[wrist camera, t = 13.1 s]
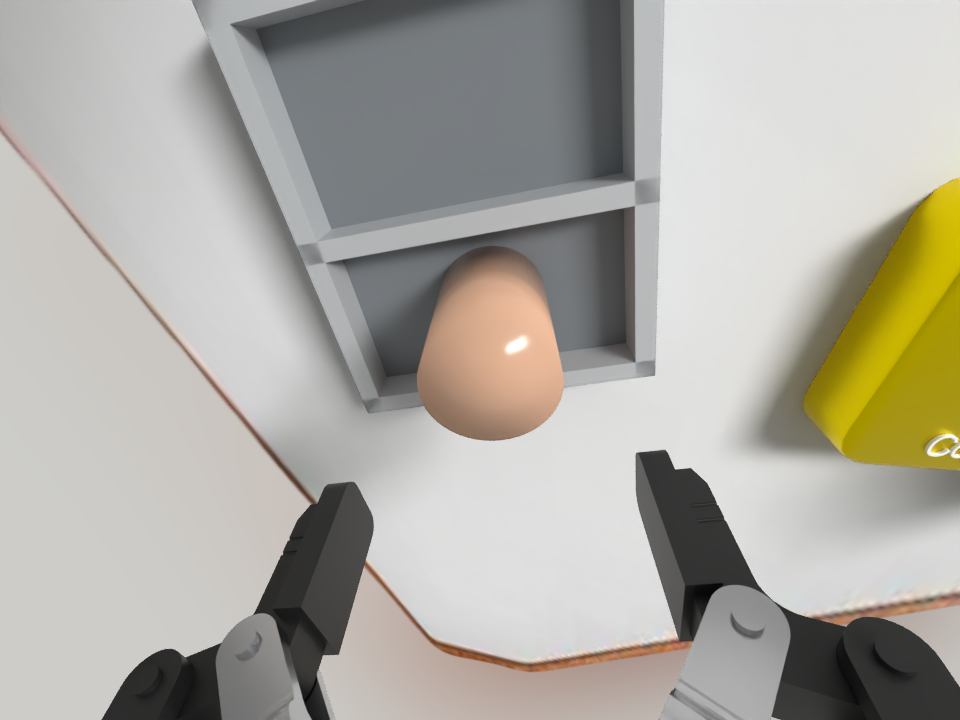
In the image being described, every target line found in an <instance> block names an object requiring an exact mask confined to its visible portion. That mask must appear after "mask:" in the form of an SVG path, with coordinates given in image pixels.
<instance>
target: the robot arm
mask: <svg viewBox="0 0 960 720" xmlns="http://www.w3.org/2000/svg"><path fill="white" fill-rule="evenodd" d="M636 496H637V502H638V507H639V511H640V515H641V518H642V521H643V524H644V528H645V531H646V534H647V537H648V541H649V544H650V547H651V550H652V554H653V557H654V560H655V563H656V567H657V570H658V573H659V576H660V580H661V583H662V586H663V589H664V593H665V596H666V599H667V602H668V606H669V609H670V612H671V615H672V619H673V622H674V625H675V628H676V631H677V635H678V638H679V641H680V642H681V641H693V644H692V646H691V649H690V652H689V654H688V657H687V659H686V662H685V664H684V667H683V670H682V672H681V675H680V678H679V680H678V682H677V685H676V687H675V689H674V690H673V691H671V693H670V695H669V696H668V699H667V701H666V703H665V705H664V708H663V710H662V712H661V715H660V718H659V720H771V717H774V718H777V719H780V720H960V687H959V685H958V684H957V683H956V681H955V680H954V678H953V677H952V675H951V674H950V672H949V671H948V669H947V668H946V666H945V665H944V663H943V662H942V661H941V659H940V658H939V657H938V655H937V654H936V653H935V651H934V650H933V649H932V648H931V647H930V646H929V645H928V644H927V643H925V642H924V641H923V640H922V639H921V638H920V637H918V636H917V635H916V634H914V633H913V632H911V631H910V630H908V629H906V628H904V627H903V626H900V625H898V624H896V623H894V622H891V621H888V620H885V619H881V618H875V617H862V618H859V619H855V620H854V621H852V622H850V623H849V624H848V625H847V627H844V626H840V625H836V624H832V623H828V622H824V621H820V620H816V619H812V618H808V617H805V616H802V615H798V614H796V613H793V612H791V611H789V610H787V609H785V608H783V607H782V606H780V605H779V604H777V603H776V602H774V601H773V600H772V599H771V598H770V597H768V596H767V595H766V594H765V592H764V591H763V590H762V589H761V588H760V587H759V585H758V584H757V582H756V581H755V579H754V577H753V575H752V573H751V571H750V569H749V567H748V565H747V563H746V561H745V559H744V557H743V555H742V553H741V551H740V549H739V547H738V545H737V543H736V541H735V538H734V536H733V534H732V532H731V530H730V528H729V526H728V524H727V522H726V521H725V520H724V516H723V514H722V512H721V510H720V508H719V506H718V505H717V503H716V500H715V498H714V496H713V494H712V492H711V490H710V488H709V486H708V484H707V483H706V482H705V481H704V480H703V479H702V478H701V477H700V476H699V475H698V474H697V473H696V472H694V471H693V470H692V469H691V468H688V469H678V470H675V469H674V466H673V464H672V462H671V459H670V457H669V455H668V453H667V451H666V450H659V451H649V452H640V453H636ZM373 528H374V524H373V517H372V514H371V511H370V510H369V508H368V506H367V504H366V502H365V500H364V498H363V496H362V494H361V492H360V490H359V488H358V486H357V485H356V484H355V483H354V482H345V483H336V484H328V485H327V486H326V487H325V488H324V490H323V492H322V494H321V497H320V499H319V501H318V504H312V505H310V506H309V508H308V509H307V510H306V511H305V512H304V513H303V515H302V516H301V517H300V518H299V519H298V520H297V522H296V525H295V527H294V529H293V531H292V534H291V536H290V541H288V542H287V544H286V546H285V548H284V551H283V555H281V557H280V560H279V561H278V564H277V566H276V568H275V570H274V572H273V574H272V577H271V579H270V581H269V583H268V585H267V587H266V590H265V592H264V594H263V596H262V598H261V600H260V603H259V605H258V607H257V609H256V611H255V613H254V614H253V615H252V616H250V617H247V618H246V619H244V620H242V621H241V622H240V623H238V624H237V625H236V626H235V627H234V628H233V629H232V630H231V631H230V632H229V633H228V634H227V636H226V637H225V638H224V640H223V642H222V643H221V644H218V645H215V646H213V647H210V648H208V649H205V650H203V651H201V652H198V653H196V654H193V655H191V656H189V657H186V658H185V657H184V656H183V655H181V654H180V653H179V652H178V651H176V650H174V649H165V650H161V651H158V652H156V653H154V654H152V655H151V656H149V657H148V658H146V659H145V660H144V661H143V662H141V663H140V664H139V665H138V666H137V667H136V668H135V669H134V670H133V671H132V672H131V673H130V674H129V675H128V677H127V678H126V679H125V681H124V682H123V684H122V686H121V687H120V689H119V691H118V693H117V694H116V696H115V698H114V699H113V701H112V703H111V705H110V707H109V708H108V710H107V711H106V713H105V715H104V717H103V718H102V720H336V719H335V716H334V713H333V710H332V707H331V704H330V700H329V697H328V694H327V691H326V687H325V684H324V681H323V678H322V675H321V672H320V671H319V666H320V663H321V659H322V656H323V655H338V654H339V652H340V648H341V645H342V641H343V638H344V634H345V631H346V627H347V624H348V620H349V617H350V613H351V609H352V606H353V602H354V599H355V595H356V592H357V588H358V585H359V581H360V578H361V574H362V571H363V567H364V564H365V560H366V557H367V553H368V550H369V546H370V543H371V539H372V535H373Z"/></svg>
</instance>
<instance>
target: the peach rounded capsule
mask: <svg viewBox="0 0 960 720" xmlns="http://www.w3.org/2000/svg"><path fill="white" fill-rule="evenodd" d="M563 387H564V376H563V371H562V366H561V361H560V356H559V352H558V347H557V343H556V338H555V333H554V329H553V324H552V320H551V315H550V310H549V306H548V301H547V297H546V292H545V287H544V283H543V280H542V277H541V275H540V273H539V271H538V269H537V268H536V266H535V265H534V264H533V263H532V262H531V261H530V260H529V259H528V258H527V257H526V256H524V255H523V254H521V253H519V252H517V251H515V250H513V249H510V248H506V247H501V246H484V247H479V248H475V249H473V250H470V251H468V252H466V253H464V254H463V255H461V256H460V257H459V258H457V259H456V260H455V261H454V262H453V263H452V265H451V266H450V267H449V268H448V270H447V272H446V274H445V276H444V278H443V281H442V285H441V288H440V292H439V296H438V299H437V303H436V306H435V310H434V314H433V317H432V321H431V324H430V328H429V331H428V335H427V339H426V342H425V346H424V349H423V353H422V357H421V360H420V364H419V368H418V372H417V389H418V393H419V396H420V399H421V401H422V403H423V405H424V407H425V408H426V410H427V411H428V412H429V414H430V415H431V416H432V417H433V418H434V419H435V420H436V421H437V422H438V423H440V424H441V425H442V426H444V427H445V428H447V429H449V430H450V431H452V432H454V433H457V434H459V435H462V436H465V437H468V438H472V439H478V440H489V441H495V440H505V439H511V438H514V437H518V436H521V435H523V434H526V433H528V432H530V431H532V430H534V429H536V428H537V427H539V426H540V425H541V424H543V423H544V422H545V421H546V420H547V419H548V418H549V417H550V416H551V415H552V414H553V412H554V411H555V409H556V408H557V406H558V404H559V402H560V400H561V397H562V393H563Z"/></svg>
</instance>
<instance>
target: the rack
mask: <svg viewBox="0 0 960 720" xmlns="http://www.w3.org/2000/svg"><path fill="white" fill-rule="evenodd" d="M192 2H193V5H194V7H195V9H196V12H197V14H198V16H199V19H200V21H201V23H202V26H203V28H204V30H205V33H206V35H207V37H208V40H209V42H210V44H211V47H212V49H213V51H214V54H215V56H216V58H217V61H218V63H219V65H220V68H221V70H222V72H223V75H224V77H225V80H226V82H227V84H228V87H229V89H230V91H231V94H232V96H233V98H234V101H235V103H236V105H237V108H238V110H239V112H240V115H241V117H242V119H243V122H244V124H245V126H246V129H247V131H248V133H249V136H250V138H251V140H252V143H253V145H254V147H255V150H256V152H257V154H258V157H259V159H260V161H261V164H262V166H263V168H264V171H265V173H266V175H267V178H268V180H269V183H270V185H271V187H272V190H273V192H274V194H275V197H276V199H277V201H278V204H279V206H280V208H281V211H282V213H283V215H284V218H285V220H286V222H287V225H288V227H289V229H290V232H291V234H292V236H293V239H294V241H295V243H296V246H297V248H298V250H299V253H300V255H301V257H302V260H303V262H304V264H305V267H306V269H307V271H308V274H309V276H310V278H311V281H312V283H313V286H314V288H315V290H316V293H317V295H318V297H319V300H320V302H321V304H322V307H323V309H324V311H325V314H326V316H327V318H328V321H329V323H330V325H331V328H332V330H333V332H334V335H335V337H336V339H337V342H338V344H339V346H340V349H341V351H342V353H343V356H344V358H345V360H346V363H347V365H348V367H349V370H350V372H351V374H352V377H353V379H354V381H355V384H356V386H357V389H358V391H359V393H360V396H361V398H362V400H363V403H364V405H365V407H366V410H367V412H368V413H374V412H382V411H390V410H397V409H405V408H412V407H420V406H424V405H423V403H422V401H421V399H420V396H419V393H418V389H417V372H418V368H419V364H420V360H421V357H422V353H423V349H424V346H425V342H426V339H427V335H428V331H429V328H430V324H431V321H432V317H433V314H434V310H435V306H436V303H437V299H438V296H439V292H440V288H441V285H442V281H443V278H444V276H445V274H446V272H447V270H448V268H449V267H450V266H451V265H452V263H453V262H454V261H455V260H456V259H457V258H459V257H460V256H461V255H463V254H464V253H466V252H468V251H470V250H473V249H475V248H479V247H484V246H501V247H506V248H510V249H513V250H515V251H517V252H519V253H521V254H523V255H524V256H526V257H527V258H528V259H529V260H530V261H531V262H532V263H533V264H534V265H535V266H536V268H537V269H538V271H539V273H540V275H541V277H542V280H543V283H544V287H545V292H546V297H547V301H548V306H549V310H550V315H551V320H552V324H553V329H554V333H555V338H556V343H557V347H558V352H559V356H560V361H561V366H562V371H563V376H564V387H572V386H579V385H587V384H594V383H602V382H609V381H617V380H625V379H632V378H640V377H647V376H655V360H656V320H657V280H658V239H659V199H660V159H661V119H662V78H663V38H664V0H192ZM564 387H563V388H564Z"/></svg>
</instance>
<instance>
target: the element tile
mask: <svg viewBox="0 0 960 720" xmlns="http://www.w3.org/2000/svg"><path fill="white" fill-rule="evenodd" d="M803 410H804V412H805V413H806V415H807V416H808V417H809V418H810V419H811V421H812V422H813V423H814V424H815V425H816V426H817V427H818V428H819V429H820V430H821V432H822V433H823V434H824V435H825V436H826V437H827V438H828V439H829V440H830V441H831V443H832V444H833V445H834V446H835V447H836V448H837V449H838V450H839V451H840V452H841V454H842V455H843V456H845V457H847V458H849V459H851V460H853V461H855V462H860V463H866V464H879V465H892V466H905V467H918V468H932V469H945V470H958V471H960V178H957V179H954V180H951V181H950V182H948V183H946V184H945V185H943V186H941V187H940V188H938V189H936V190H935V191H934V192H933V193H932V194H931V195H930V196H929V197H928V198H926V199H925V200H924V201H923V202H922V203H921V204H920V205H919V207H918V208H917V209H916V210H915V211H914V213H913V214H912V215H911V217H910V219H909V220H908V222H907V224H906V225H905V227H904V229H903V231H902V232H901V234H900V236H899V237H898V239H897V241H896V242H895V244H894V246H893V247H892V249H891V251H890V252H889V254H888V256H887V257H886V259H885V261H884V262H883V264H882V266H881V268H880V269H879V271H878V273H877V274H876V276H875V278H874V279H873V281H872V283H871V284H870V286H869V288H868V289H867V291H866V293H865V294H864V296H863V298H862V300H861V301H860V303H859V305H858V306H857V308H856V310H855V311H854V313H853V315H852V316H851V318H850V320H849V321H848V323H847V325H846V326H845V328H844V330H843V331H842V333H841V335H840V337H839V338H838V340H837V342H836V343H835V345H834V347H833V348H832V350H831V352H830V353H829V355H828V357H827V358H826V360H825V362H824V363H823V365H822V367H821V368H820V370H819V372H818V374H817V375H816V377H815V379H814V380H813V382H812V384H811V385H810V387H809V389H808V390H807V392H806V394H805V397H804V400H803Z"/></svg>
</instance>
